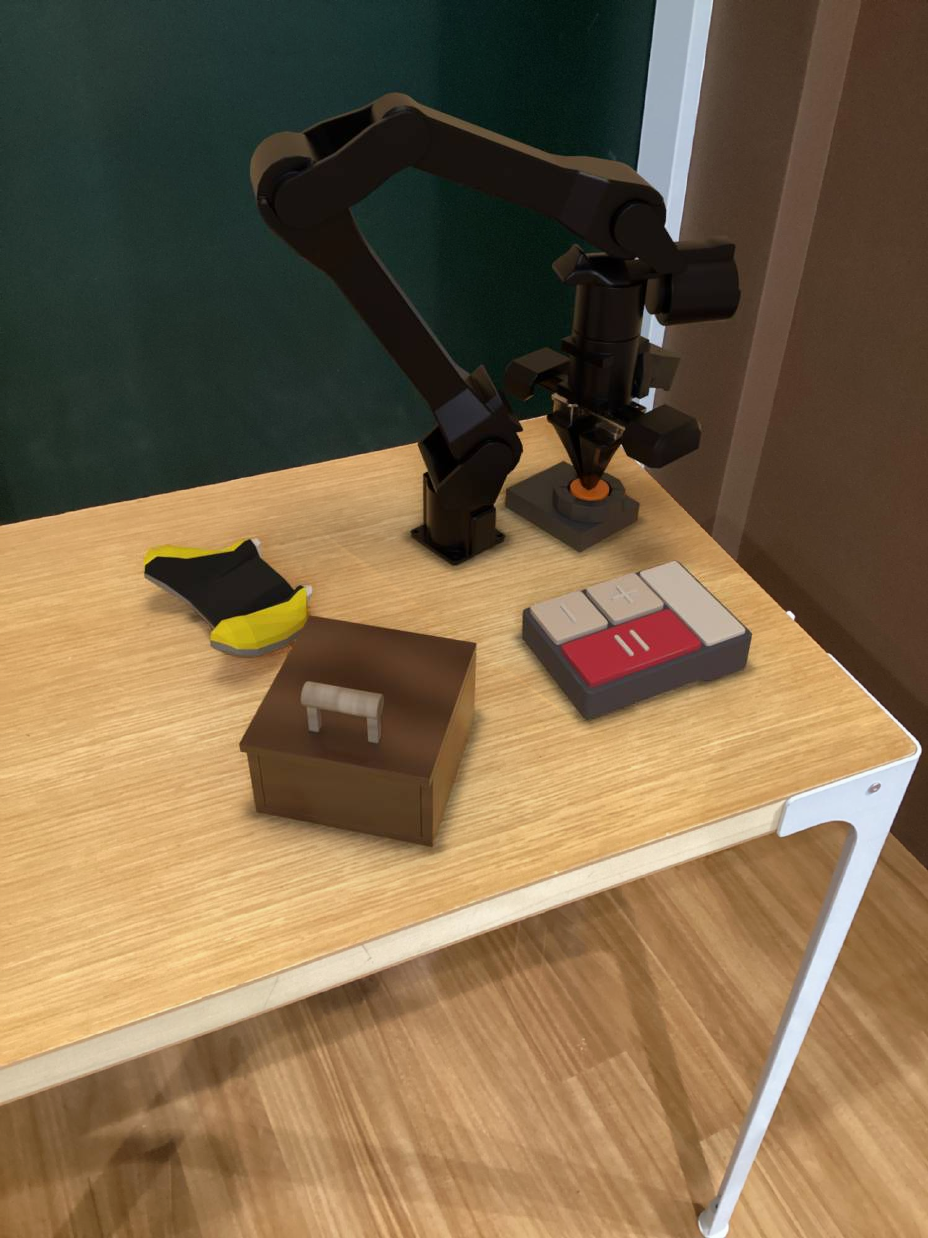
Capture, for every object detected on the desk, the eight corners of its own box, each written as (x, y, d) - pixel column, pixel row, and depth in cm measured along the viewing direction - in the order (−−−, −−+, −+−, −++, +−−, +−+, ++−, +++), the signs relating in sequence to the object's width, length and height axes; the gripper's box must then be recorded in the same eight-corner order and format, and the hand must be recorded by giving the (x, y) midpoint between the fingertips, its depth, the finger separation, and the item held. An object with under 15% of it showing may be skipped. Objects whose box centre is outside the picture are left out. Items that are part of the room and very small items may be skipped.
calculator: (520, 601, 86) (677, 551, 91) (519, 641, 89) (672, 590, 94) (588, 687, 79) (756, 627, 83) (585, 727, 81) (748, 667, 86)
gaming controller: (230, 695, 83) (337, 642, 88) (221, 641, 79) (333, 589, 84) (141, 600, 91) (243, 557, 96) (129, 548, 88) (236, 506, 93)
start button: (560, 501, 100) (562, 485, 99) (587, 488, 102) (588, 472, 101) (589, 517, 98) (590, 501, 97) (615, 504, 100) (617, 488, 99)
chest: (432, 847, 72) (432, 779, 67) (255, 812, 74) (244, 743, 69) (474, 719, 81) (476, 651, 77) (316, 690, 83) (310, 623, 79)
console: (504, 507, 104) (506, 471, 101) (562, 479, 108) (565, 444, 105) (581, 554, 98) (585, 518, 95) (639, 522, 102) (644, 487, 99)
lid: (429, 788, 67) (429, 736, 64) (240, 752, 69) (231, 700, 66) (476, 650, 77) (478, 600, 74) (310, 623, 79) (305, 573, 76)
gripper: (756, 338, 88) (723, 498, 98) (590, 271, 99) (576, 421, 109) (669, 378, 82) (644, 544, 92) (503, 302, 93) (496, 458, 103)
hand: (589, 487), depth 99 cm, fingers closed, pressing on start button
